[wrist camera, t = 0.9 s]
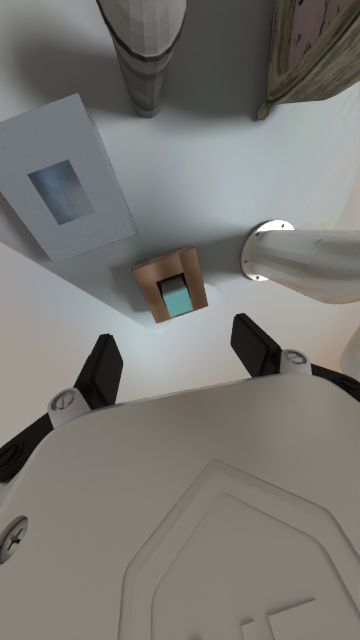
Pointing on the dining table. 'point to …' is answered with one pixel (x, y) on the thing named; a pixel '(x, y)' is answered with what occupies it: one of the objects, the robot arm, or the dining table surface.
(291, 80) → the tabletop clock
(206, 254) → the dining table surface
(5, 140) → the socket block
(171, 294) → the plug
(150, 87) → the beverage cup
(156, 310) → the wooden square hole block
